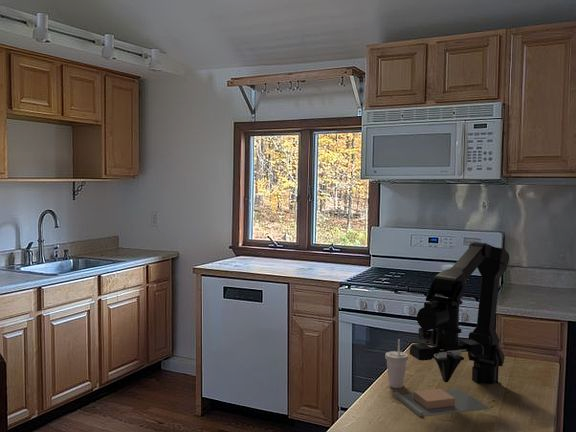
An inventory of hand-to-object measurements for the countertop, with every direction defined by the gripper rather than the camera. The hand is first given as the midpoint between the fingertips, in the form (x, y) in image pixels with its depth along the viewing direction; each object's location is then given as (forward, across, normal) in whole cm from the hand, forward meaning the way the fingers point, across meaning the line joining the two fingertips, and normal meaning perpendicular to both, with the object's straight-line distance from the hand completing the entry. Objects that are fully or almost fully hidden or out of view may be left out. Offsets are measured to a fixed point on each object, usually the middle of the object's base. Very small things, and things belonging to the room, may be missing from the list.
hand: (445, 381), depth 151 cm
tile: (+4, -1, 0) cm, 4 cm away
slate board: (+6, +1, 0) cm, 6 cm away
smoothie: (+6, +7, -14) cm, 17 cm away
